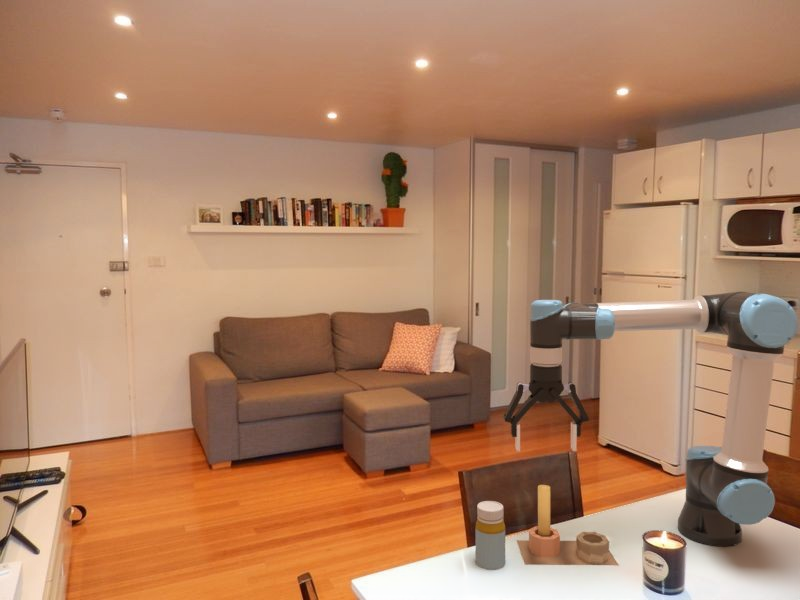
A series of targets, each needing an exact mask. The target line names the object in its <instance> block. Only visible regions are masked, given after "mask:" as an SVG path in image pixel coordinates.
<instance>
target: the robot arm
mask: <svg viewBox="0 0 800 600" xmlns="http://www.w3.org/2000/svg"><path fill="white" fill-rule="evenodd" d="M798 325H799V324H798V317H797V314H796V311H795V310H794V308H793V307H792V305H791V304H790V303H789V302H787V301H786V300H784V299H782V298H781V297H778V296H774V295H773V294H767V293H757V292H755V293H754V292H747V291H731V292H724V293H717V294H707V295H706V294H704V295H702V294H701V295H697V296H695V297H694V298H693V299H678V300H677V299H676V300H675V299H674V300H652V301H651V300H649V301H645V300H644V301H643V300H642V301H621V302H618V301H617V302H616V301H615V302H596V303H595V302H593V303H589V302H588V303H579V302H569V303H566V304H565V305H563V301H561V300H560V299H559V300H558V299H538V300H534V301H533V302H532V303H531V304H530V317H529V332H530V333H529V337H530V338H529V343H530V345H529V346H530V347H529V349H530V350H529V355H530V356H529V359H530V360H529V361H530V362H531V364H530V366H529V367H530V369H529V383H528V384H525V383H521V382H517V383H516V391H515V393H514V395H513V397H512V398H511V400H510V403H509V404H508V406H507V409H506V410H505V412H504V414H503V420H504V422H506V423H509V424H510V435H511V436H512V438H514V439H515V440H514V441H515V443H514V447H515V450H516V452H521V424H520V421H521V419H522V418H523V417H524V416H525V415H526V414H527V412H528V411H530V409H531V408H532V407H533V405H535V404H537V402H539V403H554V402H558V403H559V405H560V406H561V407H562V408H563V410H564V411H565V412H566V413H567V414H568V415H569V416H570V418H572V420H573V421H570V449H571V450H572V451H573V452H577V444H578V443H577V440H578V439H577V438H579V437H581V433H582V429H581V428H582V424H583V423H584V422H587V423H588V421H589V419H590V418H589V416H588V414H587V411H586V410H585V408H584V406H583V404H582V402H581V400H580V398H579V396H578V394H577V389H576V385H575V384H574V383H573V382H571V381H569V382H568V383H563V366H562V365H561V364H562V362H563V340H597V341H599V340H608V339H609V340H610V339H611V338H612V337H614V334H615V332H627V331H629V332H633V331H635V332H636V331H665V330H667V331H668V330H669V331H671V330H675V331H676V330H695V331H697V333H701V334H702V333H704V334H705V333H710V334H711V333H713V334H719V335H723V336H727V342H726V348H727V350H728V351H729V352H730V353H731V354H732V361H731V367H730V368H731V369H730V377H729V385H728V394H727V401H726V402H727V403H726V410H725V416H724V417H725V418H724V426H723V434H722V443H721V446H713V445H695V446H692V447H689V448H688V449H687V452H686V458H685V462H686V463H685V467H686V468H685V470H686V471H685V501H684V504H683V505H682V508H681V511H680V514H679V516H678V517H677V519H678V520H677V529H678V531H679V533H680V534H681V535H682V536H684V537H686V538H687V539H690V540H692V541H695V542H697V543H701V544H703V545H704V544H705V545H708V546H716V547H731V546H735V545H738V544H740V543H741V542H742V539H743V537H742V536H743V530H742V527H741V525H745V526H747V525H748V526H750V525H755V524H758V523H760V522H761V521H763V520H764V519H767V518H768V517H769V516H770V515H771V514H772V512H773V510H774V507H775V503H776V497H775V494H774V492H773V490H772V488H771V487H770V486H769V484H768V477H769V467H768V465H766V463H765V462H764V460H763V454H764V447H765V441H766V440H765V438H766V431H767V422H768V416H769V410H770V409H769V407H770V401H771V392H772V384H773V376H774V367H775V363H776V362H775V361H777V360H778V359H779V358H781V357H782V356H783V355H784V352H785V345H787V344H788V343H789V342H790V341H791V340H793V339H794V337H795V335H796V333H797V331H798ZM527 390H528V391H529V392H530V395H529V396H528V397H527V398H526V400H525V402H524V403H523V404H522V405H521V406H520V407H519V409H517V406H518V405H519V403H520V401H521V399H522V397H523V394H525V393H526V392H527ZM564 390H565V391H566V392H567V393H568V394H569V395H570V398H571V400H572V402H573V404H574V405H575V407H576V410H577V411H578V414H579V416H578V415H577V414H576V413H575V412H574V411H573V410H572V409H571V407H570V406H569V405H568V404H567V402H565V400H564V399H563V398H562V396H561V394H562V393H563V391H564ZM516 409H517V410H516ZM515 411H516V412H515Z"/></svg>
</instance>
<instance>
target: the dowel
mask: <svg viewBox="0 0 800 600" xmlns="http://www.w3.org/2000/svg"><path fill="white" fill-rule="evenodd" d="M537 526H538V535H539V536H542V537H550V527H551V486H550V485H548V484H539V485H538V486H537Z"/></svg>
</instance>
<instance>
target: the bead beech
mask: <svg viewBox="0 0 800 600" xmlns="http://www.w3.org/2000/svg"><path fill="white" fill-rule="evenodd" d="M575 537H576V540H575V541H576V554H577V556H578V558H579V559H580V560H582V561H585V562H587V563H590V564H603V563H605V562H606V561H607V560H609V551H610V541H609V539H608V538H607V536H606V535H604V534H601V533H598V532H596V531H582V532H580V533H578V534H576V535H575Z"/></svg>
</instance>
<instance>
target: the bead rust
mask: <svg viewBox="0 0 800 600" xmlns="http://www.w3.org/2000/svg"><path fill="white" fill-rule="evenodd" d="M528 540H529V549H530V551H531V553H532V554H535V555H537V556H540V557H554V556H556V555H557V554H559V553H560V541H561V534H560V532H559V531H558V529H556V528H553V527H551V526H550V537H542V536H539V535H538V525H535V526H534V527H531V528H529V529H528Z"/></svg>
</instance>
